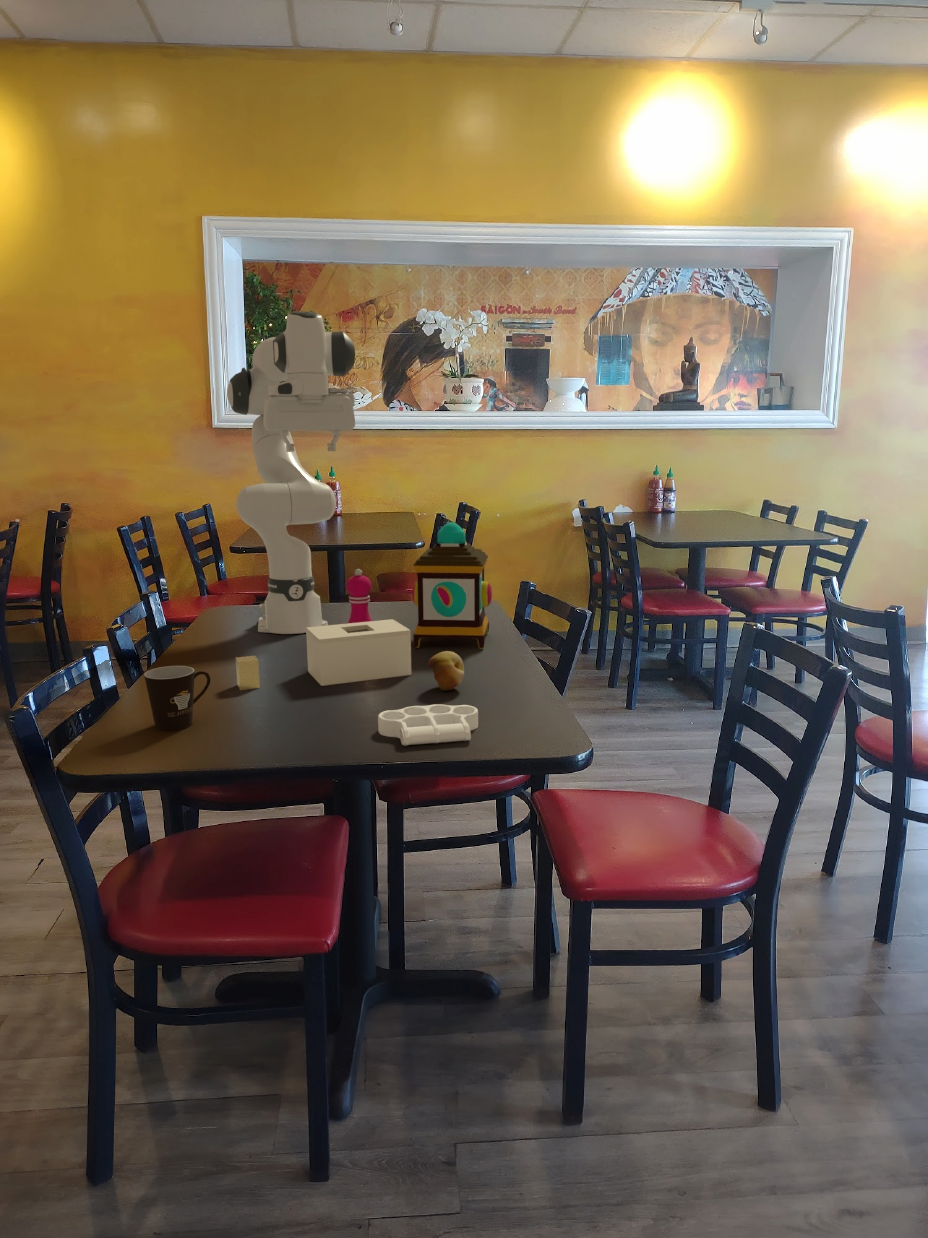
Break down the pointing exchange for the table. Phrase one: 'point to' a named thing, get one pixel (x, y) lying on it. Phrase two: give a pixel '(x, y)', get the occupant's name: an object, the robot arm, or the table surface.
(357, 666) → the coin box
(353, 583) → the pepper mill
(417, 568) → the decorative lantern
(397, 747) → the table surface
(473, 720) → the knuckle duster
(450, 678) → the fruit
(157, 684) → the coffee mug
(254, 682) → the yellow wooden block
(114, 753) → the table surface
